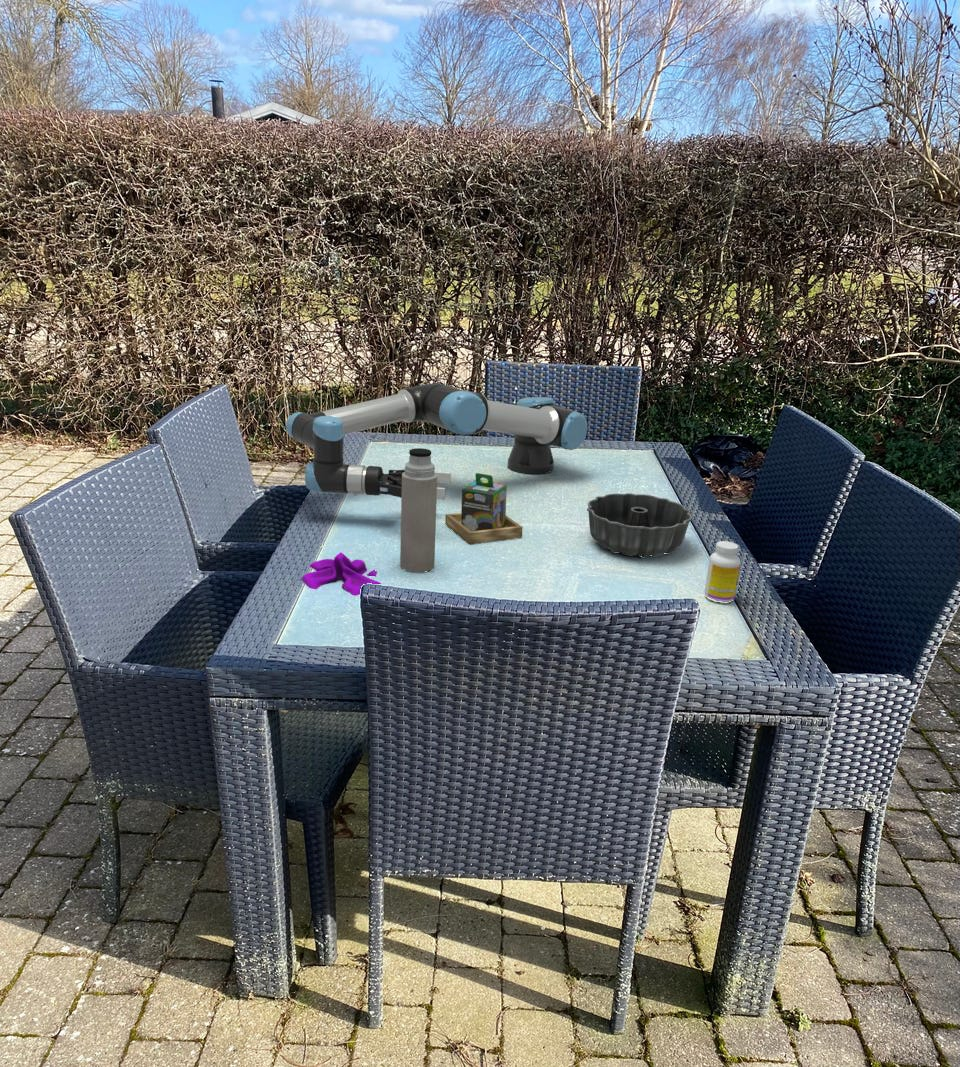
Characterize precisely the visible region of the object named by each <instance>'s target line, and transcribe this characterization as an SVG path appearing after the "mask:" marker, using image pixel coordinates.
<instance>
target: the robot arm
mask: <svg viewBox="0 0 960 1067" xmlns="http://www.w3.org/2000/svg"><path fill="white" fill-rule="evenodd" d="M402 421H404V422H405V423H408V424H409V423H415V422H424V423H429V424H432V425H434V426H437V427H439V428H442V429H445V430H447V431H450V432H452V433H453V434H456V435H461V436H462V435H465V436H466V435H477V434H479V433H480V432H482V431H486V432H488V431H489V432H493V433H494V432H495V433H501V434H506V435H507V434H508V435H514V441H513V442H514V443H513V446H512V448H511V451H510V454H509V457H507V458H508V459H507V468H508V469H509V470H511V471H513V472H517V473H521V474H526V475H527V474H530V475H541V474H540V473H544V474H547V473H546V472H549V471H551V472H553V471H554V470H555V468H554V467H555V460H554V457H553V456H554V455H553V453H552V449H551V446H554V447H559V448H561V449H564V450H566V451H567V450H568V451H572V450H573V451H574V450H576V449H577V448H579V447H580V445H581V444H582V443H583V442H584V441H585V439H586V437H587V434H588V433H587V432H588V422H587V418H586V417H585V416H584V415H583V414H582V413H580V412H578V410H577V411H576V410H575V411H574V410H571V409H567V408H564V407H562V406H561V407H560V406H557V405H555V402H554V398H552V397H548V396H547V397H546V396H545V397H544V396H536V397H535V396H533V397H523V398H520V399H518V401H517V402H516V404H511V403H505V402H501V401H494V400H490V399H487V397H486V396H485V395H484V394H482V393H481V392H475V391H470V390H464V389H460V388H457V387H453V386H451V385H447V384H444V383H438V382H435V383H426V384H421V385H420V384H419V385H416V386H412V387H406V388H403V389H400V390H399V391H398V392H397V394H393V395H388V396H384V397H380V398H376V399H375V398H374V399H371V400H366V401H362V402H359V403H353V404H350V405H344V406H340V407H335V408H331V409H327V410H323V411H322V410H321V411H317V412H311V413H306V412H300V411H298V412H294V413H292V414H291V415H290V416H289V417H288V419H287V420H286V424H285V427H286V428H285V429H286V432H287V434H288V436H289V437H291V438H292V439H293V440H295V441H296V442H297V443H300V444H303V445H305V446H307V447H309V448H311V449H312V450H313V461H310V462H308V463H307V464H306V465H305V474H304V483H305V487H306V488H307V489H308V490H309V491H314V492H322V493H337V494H353V496H357V495H364V494H365V495H367V496H381V495H387V496H388V495H389V496H393V497H396V498H401V497H402V473H403V472H405V469H388V473H384V469H383V468H382V467H381V466H379V465H378V466H376V465H375V466H374V465H368V466H366V465H364V464H363V465H362V464H346V463H344V441H345V440H344V436H345V435H349V434H353V433H357V432H362V431H365V430H370V429H374V428H377V427H382V426H387V425H390V424H395V423H398V422H399V423H400V422H402ZM553 469H554V470H553ZM552 470H553V471H552ZM434 473H436V474H437V484H438V483H440V484H441V483H442V484H451V483H452V482H451V480H452V479H451V478H452V477H451V476H452V473H451V472H448V471H446V472H443V471H434ZM549 473H550V472H549ZM445 497H446V488H445V487H437V500H445Z"/></svg>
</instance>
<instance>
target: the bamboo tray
mask: <svg viewBox="0 0 960 1067" xmlns="http://www.w3.org/2000/svg"><path fill="white" fill-rule="evenodd" d="M444 520H445V523H444V524H446V525H447V526H448V527H449V528H450V529H449V528H448V527H447V526H446V525H445V526H446V527H447V528H448V529H449V530H451V529H452V530H453V531H454V532H455V533H454V532H453V531H452V530H451V531H452V532H453V533H454V534H455V535H457V534H458V535H459V536H460V537H461V538H460V537H459V536H458V535H457V536H458V537H459V538H460V539H461V540H462V541H464V542H465V541H466V542H465V543H467V544H468V545H469V544H470V545H476V544H475V543H478V544H482V543H481V542H486V543H492V542H491V541H494V542H499V541H498V540H502V541H508V540H507V539H510V540H515V539H514V538H518V539H522V538H523V530H524V527H523V526H521V525H520V523H517V522H516V521H514V520H513V519H512V518H511V517H509V516H508V515H506V521H505V525H504V526H503V527H502V528H498V529H489V530H481V531H470V530H469V529H468V528H466V527H465V526H464V525H463V524H461V512H455V513H447V514H445V518H444ZM521 537H522V538H521Z"/></svg>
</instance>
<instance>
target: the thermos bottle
mask: <svg viewBox="0 0 960 1067" xmlns="http://www.w3.org/2000/svg"><path fill="white" fill-rule="evenodd" d="M408 454H409V458H408V462H406V463H405V466H404V470H405V472H403V473H402V497H401V501H400V502H401V503H400V504H401V507H400V508H401V509H400V549H399V550H400V552H399V553H400V554H399V555H400V557H399V566H400V568H401V569H402V568H403V569H405V570H407V571H406V572H408V571H411V572H410V573H414V572H422V573H426V572H425V571H428V572H430V571H432V570H434V568H435V562H436V561H435V557H436V531H437V530H436V529H437V526H436V525H437V500H438V499H437V488H438V482H437V474H436V473H434V472H435V470H436V467H435V464H434V463H432V457H431V456H432V451H431V449H428V448H423V447H422V448H419V447H417V448H416V447H415V448H411V449H409V452H408ZM403 569H402V570H403ZM405 570H404V571H405ZM429 570H430V571H429Z"/></svg>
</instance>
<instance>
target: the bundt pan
mask: <svg viewBox="0 0 960 1067" xmlns="http://www.w3.org/2000/svg"><path fill="white" fill-rule="evenodd" d="M586 511H587V512H588V521H589V522H588V524H589V534H590V536H591V537H592V539H593V540H594V541H595V542H597V543H598V544H599V545H600V546H601V547H603V548H604V549H607V548H610V549H609V550H610V552H612V553H613V552H620V553H622V554H623V555H624V554H625V556H627V555H632V556H631V557H634V556H639V555H640V556H642V557H645V558H646V557H648V556H649V555H652V556H651V557H653V556H657V557H661V556H663V555H665V554H664V553H670V554H672V553H673V552H675V551H676V550H677V548H679V547H680V546H681V545H682V544H683V542H684V539H685V537H686V535H687V534H686V533H687V531H688V527H689V524H690V522H692V521H693V515H692V510H689V509H687V508H686V506H685V505H683V504H682V503H679V502H675V501H674V500H673V501H672V500H670V498H669V499H668V498H665V497H664V498H663V497H658V496H655V495H653V494H652V495H650V494H643V493H640V494H638V493H631V492H627V493H626V492H625V493H608V494H605V495H601V496H599V495H598V496H596V497H595V498H594V499H591V500H589V501H588V502H587V507H586ZM633 555H634V556H633ZM640 556H639V557H640ZM642 557H641V558H642Z"/></svg>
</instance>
